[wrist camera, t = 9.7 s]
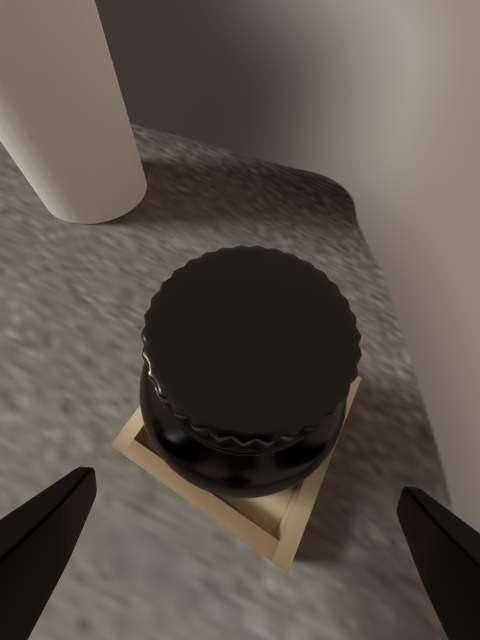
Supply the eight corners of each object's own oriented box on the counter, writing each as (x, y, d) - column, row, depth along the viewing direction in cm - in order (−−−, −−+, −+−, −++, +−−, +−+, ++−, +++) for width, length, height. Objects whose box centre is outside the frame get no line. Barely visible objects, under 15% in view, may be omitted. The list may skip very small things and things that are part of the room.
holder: (280, 559, 14) (288, 573, 12) (125, 448, 16) (110, 445, 14) (347, 388, 18) (361, 377, 16) (217, 318, 20) (216, 302, 18)
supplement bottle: (304, 483, 15) (478, 511, 4) (176, 492, 15) (36, 545, 4) (287, 362, 18) (363, 212, 8) (181, 367, 18) (111, 217, 7)
